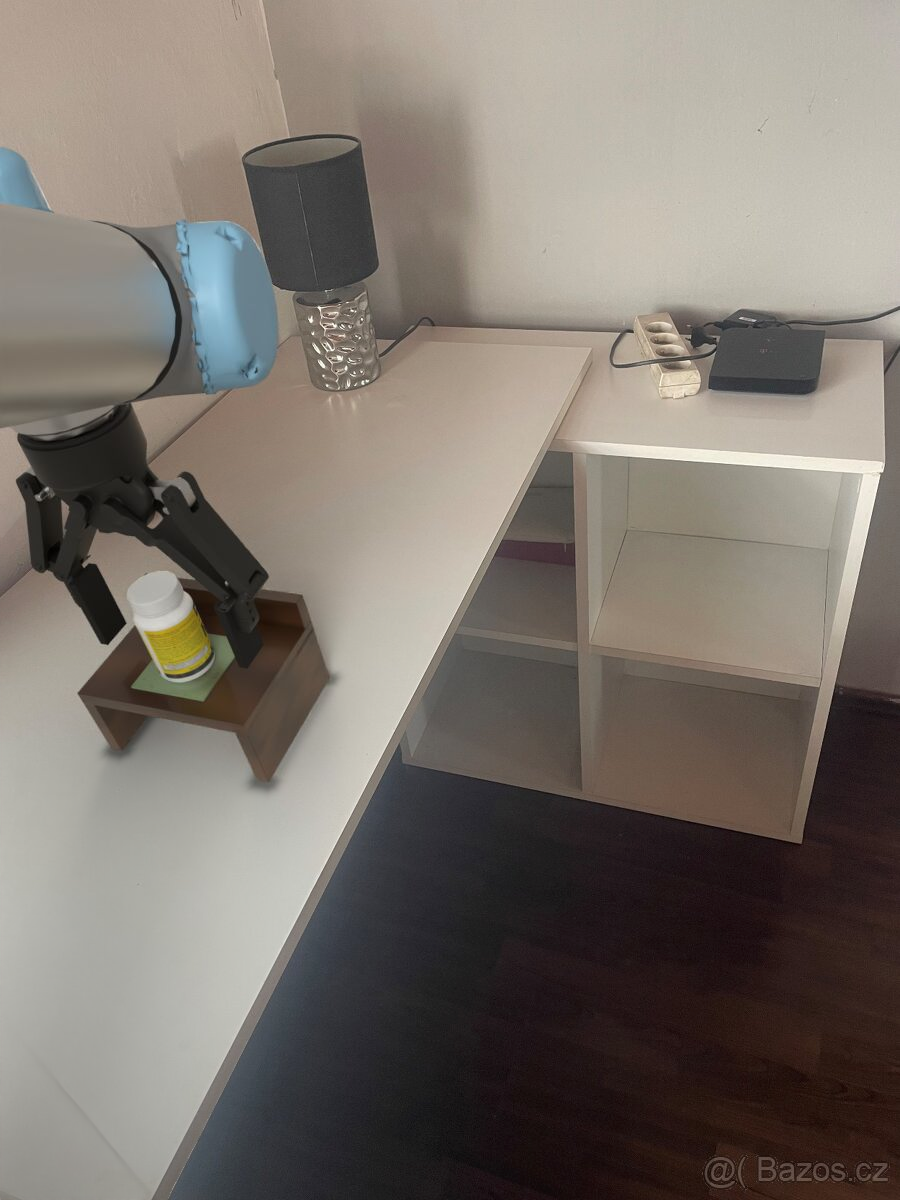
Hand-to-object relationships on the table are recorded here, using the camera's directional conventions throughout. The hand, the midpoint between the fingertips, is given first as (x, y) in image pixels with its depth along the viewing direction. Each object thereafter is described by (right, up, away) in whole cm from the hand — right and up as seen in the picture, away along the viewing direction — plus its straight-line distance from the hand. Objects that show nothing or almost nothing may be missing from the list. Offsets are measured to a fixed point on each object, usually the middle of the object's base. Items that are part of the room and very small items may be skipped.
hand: (180, 644), depth 71 cm
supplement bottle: (0, -2, +1) cm, 2 cm away
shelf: (+2, -6, +7) cm, 10 cm away
